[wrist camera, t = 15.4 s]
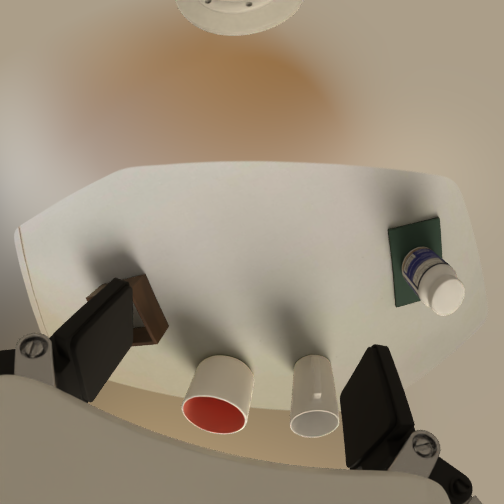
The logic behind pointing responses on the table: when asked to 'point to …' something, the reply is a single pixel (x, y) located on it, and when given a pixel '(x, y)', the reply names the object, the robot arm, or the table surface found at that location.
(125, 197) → the table surface
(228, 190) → the table surface
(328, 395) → the mug
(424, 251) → the pill bottle
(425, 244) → the mat
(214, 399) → the cup
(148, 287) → the holder
